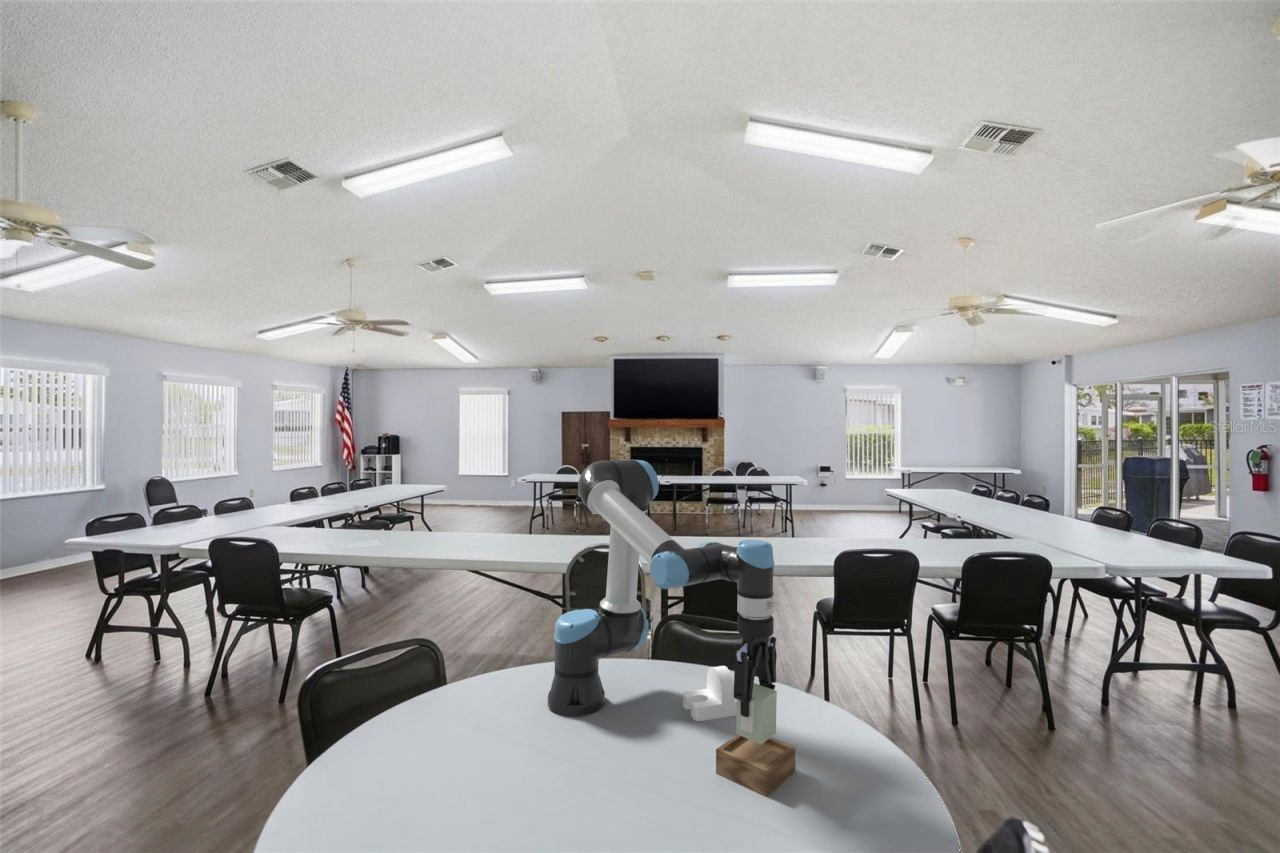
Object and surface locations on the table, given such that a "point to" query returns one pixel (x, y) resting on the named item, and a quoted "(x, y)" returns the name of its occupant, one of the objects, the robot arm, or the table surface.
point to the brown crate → (756, 763)
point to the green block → (760, 715)
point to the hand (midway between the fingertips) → (755, 724)
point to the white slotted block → (713, 696)
